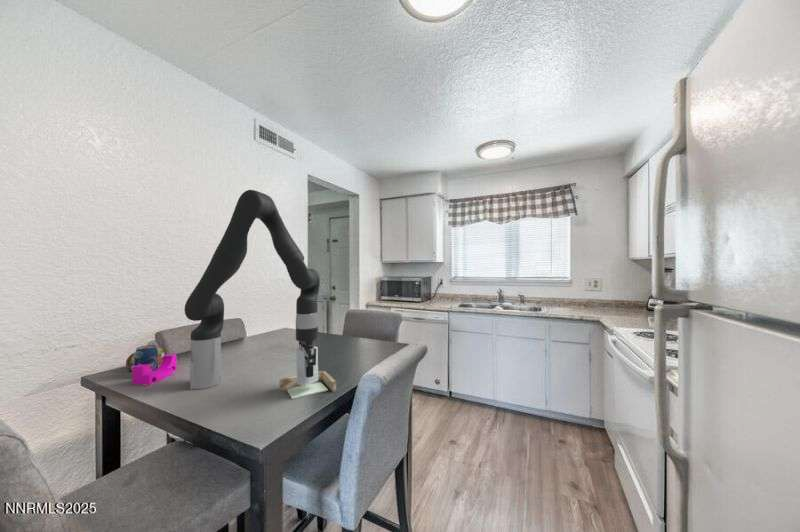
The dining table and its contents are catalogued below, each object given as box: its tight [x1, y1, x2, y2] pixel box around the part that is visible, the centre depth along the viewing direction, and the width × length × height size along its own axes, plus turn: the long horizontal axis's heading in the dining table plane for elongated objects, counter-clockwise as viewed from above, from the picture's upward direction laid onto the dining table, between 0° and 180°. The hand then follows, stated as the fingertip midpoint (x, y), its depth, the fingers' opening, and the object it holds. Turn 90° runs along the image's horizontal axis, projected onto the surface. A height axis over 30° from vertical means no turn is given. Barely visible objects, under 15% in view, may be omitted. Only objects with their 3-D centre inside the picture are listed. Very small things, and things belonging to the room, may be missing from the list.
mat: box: [286, 381, 329, 400], centre depth 102 cm, size 12×8×1 cm, turn 122°
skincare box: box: [296, 346, 319, 386], centre depth 102 cm, size 6×4×12 cm
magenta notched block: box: [132, 354, 178, 386], centre depth 113 cm, size 15×6×8 cm, turn 177°
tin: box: [125, 346, 167, 372], centre depth 124 cm, size 15×3×8 cm, turn 169°
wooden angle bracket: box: [278, 370, 337, 393], centre depth 102 cm, size 16×13×4 cm
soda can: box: [133, 344, 159, 371], centre depth 115 cm, size 7×7×12 cm
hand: (307, 373), depth 102 cm, fingers closed on skincare box, 5 cm apart
